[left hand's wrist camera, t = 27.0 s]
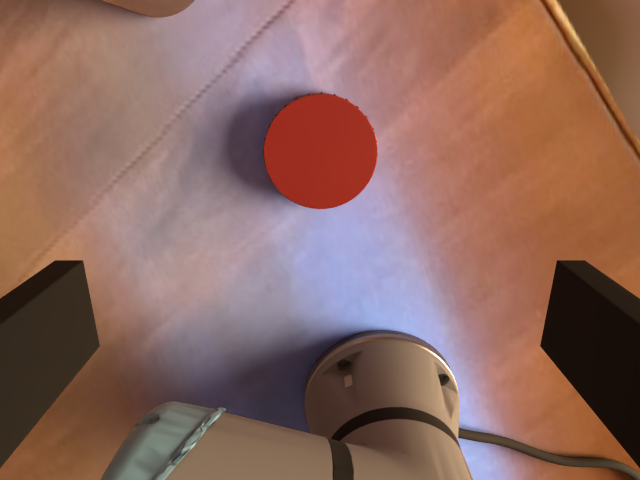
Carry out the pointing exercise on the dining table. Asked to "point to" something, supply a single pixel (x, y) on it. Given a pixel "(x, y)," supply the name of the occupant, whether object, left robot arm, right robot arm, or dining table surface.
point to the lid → (320, 151)
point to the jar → (153, 6)
